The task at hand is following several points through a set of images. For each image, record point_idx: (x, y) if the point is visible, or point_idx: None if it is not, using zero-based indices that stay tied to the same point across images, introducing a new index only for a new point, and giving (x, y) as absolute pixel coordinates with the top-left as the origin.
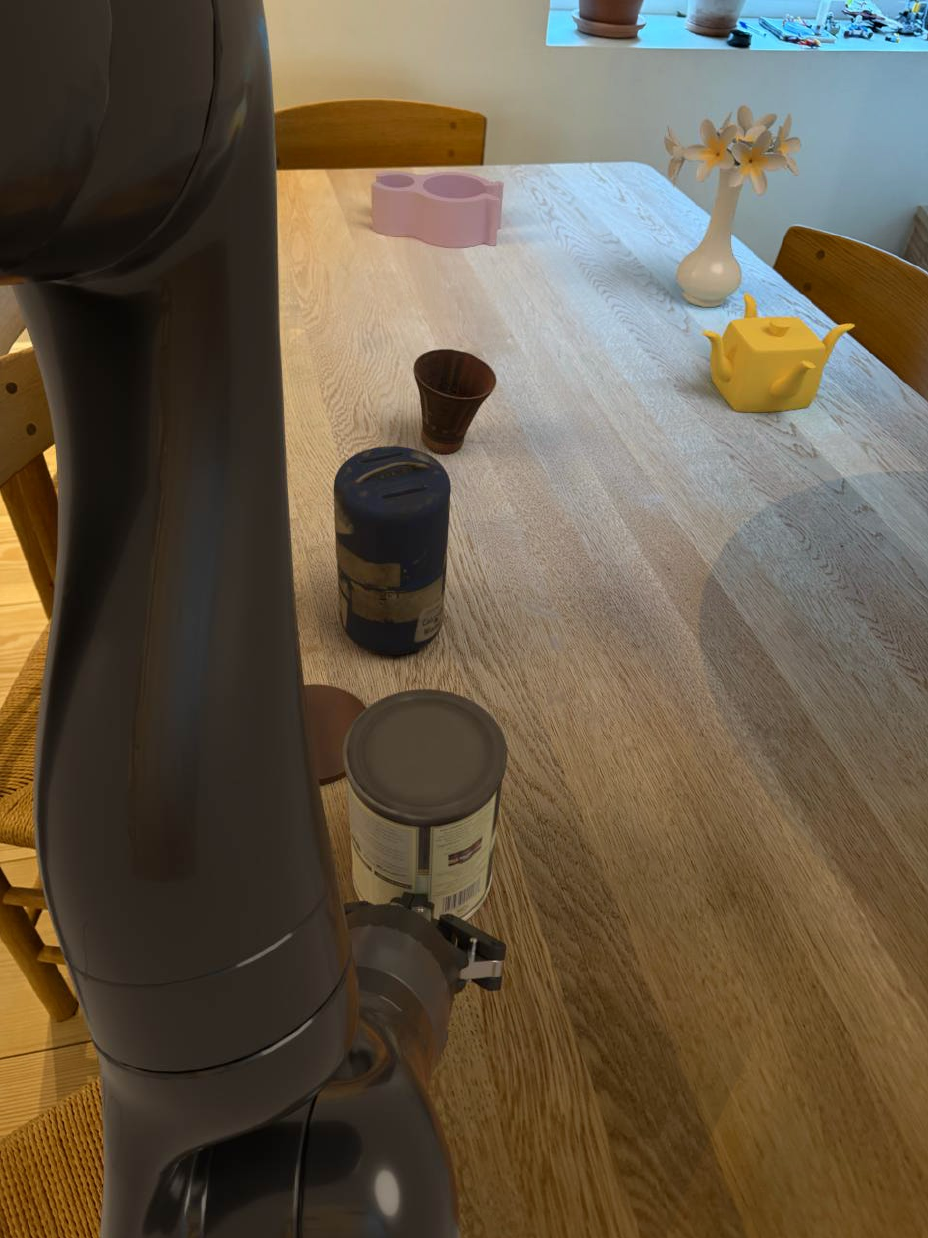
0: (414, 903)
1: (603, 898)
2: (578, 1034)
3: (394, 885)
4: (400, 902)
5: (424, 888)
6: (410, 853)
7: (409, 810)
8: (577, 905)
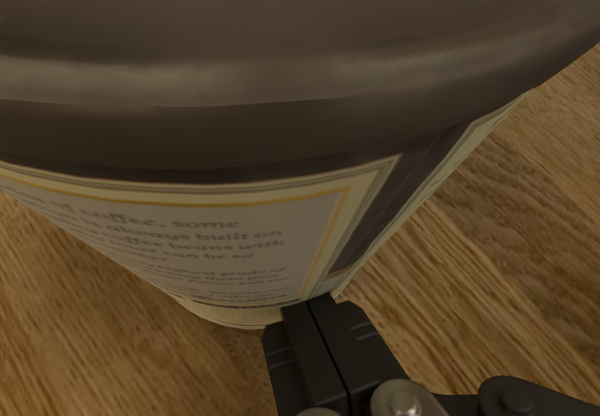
0: (345, 360)
1: (503, 154)
2: (592, 360)
3: (254, 307)
4: (309, 379)
5: (329, 287)
6: (311, 260)
7: (338, 20)
8: (481, 176)
